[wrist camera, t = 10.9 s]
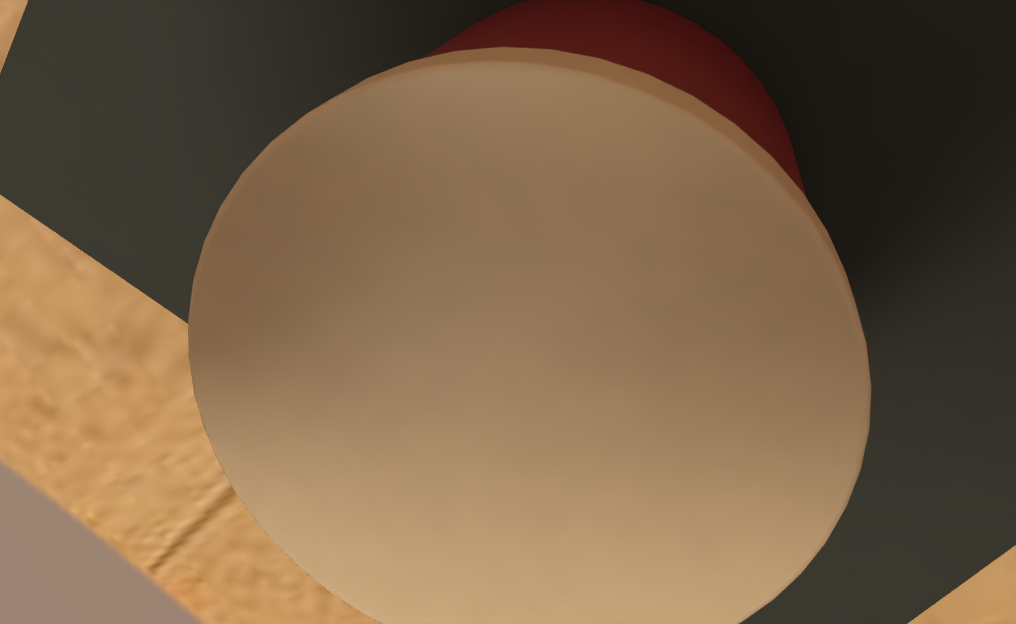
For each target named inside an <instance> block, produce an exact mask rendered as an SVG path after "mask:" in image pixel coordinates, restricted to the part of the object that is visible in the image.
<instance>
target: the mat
mask: <svg viewBox="0 0 1016 624" xmlns="http://www.w3.org/2000/svg"><path fill="white" fill-rule="evenodd" d="M526 1H530V0H28V3H27V6H26V8H25V11H24V13H23V16H22V19H21V21H20V24H19V26H18V29H17V32H16V34H15V37H14V40H13V42H12V45H11V47H10V50H9V53H8V55H7V58H6V60H5V63H4V66H3V68H2V71H1V74H0V195H2V196H3V197H5V198H6V199H8V200H9V201H11V202H12V203H14V204H15V205H16V206H18V207H19V208H21V209H22V210H24V211H25V212H27V213H28V214H30V215H31V216H32V217H34V218H35V219H37V220H38V221H40V222H41V223H43V224H44V225H46V226H47V227H48V228H50V229H51V230H53V231H54V232H56V233H57V234H59V235H60V236H62V237H63V238H64V239H66V240H67V241H69V242H70V243H72V244H73V245H75V246H76V247H77V248H79V249H80V250H82V251H83V252H85V253H86V254H88V255H89V256H91V257H92V258H93V259H95V260H96V261H98V262H99V263H101V264H102V265H104V266H105V267H107V268H108V269H109V270H111V271H112V272H114V273H115V274H117V275H118V276H120V277H121V278H123V279H124V280H125V281H127V282H128V283H130V284H131V285H133V286H134V287H136V288H137V289H139V290H140V291H141V292H143V293H144V294H146V295H147V296H149V297H150V298H152V299H153V300H154V301H156V302H157V303H159V304H160V305H162V306H163V307H165V308H166V309H168V310H169V311H170V312H172V313H173V314H175V315H176V316H178V317H179V318H181V319H182V320H184V321H185V322H186V323H188V318H189V310H190V302H191V294H192V287H193V280H194V276H195V273H196V269H197V266H198V262H199V259H200V255H201V252H202V248H203V245H204V241H205V239H206V237H207V235H208V233H209V230H210V228H211V226H212V224H213V222H214V220H215V217H216V215H217V213H218V211H219V209H220V206H221V205H222V203H223V202H224V200H225V199H226V197H227V196H228V194H229V193H230V191H231V190H232V188H233V187H234V185H235V184H236V182H237V181H238V179H239V178H240V176H241V175H242V173H243V172H244V171H245V170H246V169H247V168H248V166H249V165H250V164H251V163H252V162H253V161H254V160H255V159H256V158H257V157H258V156H259V155H260V153H261V152H262V151H263V150H264V149H265V148H266V147H267V146H268V145H269V144H270V143H271V142H272V141H273V140H274V139H275V138H277V137H278V136H279V135H280V134H282V133H283V132H284V131H285V130H287V129H288V128H289V127H290V126H292V125H293V124H294V123H295V122H297V121H298V120H299V119H300V118H302V117H303V116H304V115H306V114H307V113H309V112H310V111H312V110H314V109H315V108H317V107H319V106H320V105H322V104H324V103H325V102H327V101H328V100H330V99H332V98H334V97H335V96H337V95H339V94H341V93H342V92H344V91H346V90H347V89H349V88H351V87H353V86H354V85H356V84H358V83H360V82H361V81H363V80H365V79H367V78H369V77H371V76H374V75H376V74H379V73H382V72H384V71H387V70H389V69H392V68H394V67H397V66H399V65H402V64H405V63H407V62H410V61H414V60H419V59H422V58H423V57H425V56H426V55H428V54H429V53H431V52H432V51H434V50H435V49H437V48H438V47H440V46H441V45H443V44H444V43H446V42H447V41H449V40H450V39H452V38H453V37H455V36H456V35H458V34H459V33H461V32H462V31H464V30H465V29H467V28H469V27H470V26H472V25H474V24H476V23H477V22H479V21H481V20H483V19H484V18H486V17H488V16H490V15H491V14H493V13H496V12H498V11H501V10H503V9H506V8H508V7H511V6H513V5H516V4H519V3H522V2H526ZM641 1H644V2H647V3H650V4H653V5H656V6H659V7H662V8H665V9H668V10H670V11H672V12H674V13H676V14H678V15H680V16H682V17H685V18H687V19H689V20H691V21H693V22H695V23H696V24H698V25H699V26H701V27H702V28H704V29H705V30H707V31H708V32H710V33H711V34H713V35H714V36H716V37H717V38H719V39H720V40H721V41H722V42H723V43H724V44H726V45H727V46H728V47H729V48H730V49H731V50H732V51H733V52H735V53H736V54H737V55H738V56H739V57H740V58H741V59H742V60H743V61H744V62H745V63H746V65H747V66H748V67H749V68H750V69H751V70H752V72H753V73H754V74H755V75H756V76H757V78H758V79H759V80H760V81H761V82H762V84H763V86H764V87H765V89H766V90H767V92H768V94H769V95H770V97H771V98H772V100H773V102H774V103H775V105H776V106H777V108H778V111H779V113H780V115H781V117H782V120H783V122H784V124H785V126H786V129H787V131H788V133H789V137H790V140H791V144H792V147H793V151H794V155H795V158H796V162H797V165H798V169H799V172H800V176H801V179H802V183H803V187H804V190H805V194H806V197H807V200H808V202H809V203H810V205H811V206H812V208H813V210H814V211H815V213H816V214H817V216H818V217H819V219H820V221H821V222H822V224H823V225H824V227H825V228H826V230H827V232H828V234H829V236H830V239H831V241H832V243H833V245H834V247H835V250H836V252H837V254H838V256H839V259H840V261H841V263H842V265H843V268H844V270H845V272H846V275H847V278H848V281H849V284H850V288H851V291H852V294H853V297H854V300H855V304H856V307H857V311H858V314H859V318H860V322H861V325H862V329H863V333H864V336H865V340H866V344H867V353H868V362H869V370H870V379H871V405H870V425H869V433H868V438H867V443H866V447H865V452H864V457H863V461H862V466H861V470H860V473H859V475H858V478H857V480H856V483H855V486H854V488H853V491H852V493H851V496H850V499H849V501H848V504H847V506H846V508H845V510H844V512H843V513H842V515H841V517H840V519H839V520H838V522H837V524H836V525H835V527H834V529H833V531H832V532H831V534H830V536H829V538H828V539H827V541H826V543H825V544H824V545H823V547H822V548H821V549H820V550H819V552H818V553H817V554H816V555H815V557H814V558H813V559H812V560H811V562H810V563H809V564H808V565H807V567H806V568H805V569H804V570H803V572H802V573H801V574H800V575H799V576H798V577H797V578H796V579H795V580H794V581H793V582H792V583H790V584H789V585H788V586H787V587H786V588H785V589H784V590H783V591H782V592H781V593H780V594H779V595H778V596H777V597H775V598H774V599H773V600H772V601H771V602H769V603H768V604H766V605H765V606H764V607H762V608H761V609H759V610H758V611H756V612H755V613H754V614H752V615H751V616H749V617H748V618H747V619H745V620H744V621H742V622H741V623H739V624H907V623H909V622H910V621H911V620H913V619H914V618H916V617H917V616H918V615H920V614H921V613H922V612H924V611H925V610H927V609H928V608H929V607H931V606H932V605H933V604H935V603H936V602H938V601H939V600H940V599H942V598H943V597H944V596H946V595H947V594H949V593H950V592H951V591H953V590H954V589H956V588H957V587H958V586H960V585H961V584H962V583H964V582H965V581H967V580H968V579H969V578H971V577H972V576H973V575H975V574H976V573H978V572H979V571H980V570H982V569H983V568H984V567H986V566H987V565H989V564H990V563H991V562H993V561H994V560H995V559H997V558H998V557H1000V556H1001V555H1002V554H1004V553H1005V552H1006V551H1008V550H1009V549H1011V548H1012V547H1013V546H1015V545H1016V0H641Z"/></svg>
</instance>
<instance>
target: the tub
mask: <svg viewBox="0 0 1016 624" xmlns="http://www.w3.org/2000/svg"><path fill="white" fill-rule="evenodd" d="M188 336H189V361H190V368H191V374H192V381H193V388H194V394H195V397H196V401H197V404H198V408H199V411H200V415H201V418H202V422H203V425H204V428H205V431H206V433H207V436H208V438H209V440H210V443H211V445H212V447H213V450H214V452H215V454H216V457H217V459H218V462H219V464H220V466H221V467H222V469H223V471H224V472H225V474H226V476H227V478H228V479H229V481H230V483H231V485H232V486H233V488H234V490H235V492H236V493H237V495H238V497H239V498H240V499H241V501H242V502H243V504H244V505H245V506H246V508H247V509H248V510H249V512H250V513H251V515H252V516H253V517H254V519H255V520H256V521H257V523H258V524H259V525H260V527H261V528H262V529H263V530H264V531H265V532H266V533H267V534H268V536H269V537H270V538H271V539H272V540H273V541H274V542H275V543H276V544H277V545H278V547H279V548H280V549H281V550H282V551H283V552H284V553H285V554H286V555H287V556H288V557H289V558H290V559H291V560H292V561H294V562H295V563H296V564H297V565H298V566H299V567H300V568H301V569H302V570H304V571H305V572H306V573H307V574H308V575H309V576H310V577H311V578H312V579H314V580H315V581H316V582H318V583H319V584H320V585H322V586H323V587H324V588H326V589H327V590H328V591H330V592H331V593H333V594H334V595H335V596H337V597H338V598H339V599H341V600H342V601H343V602H345V603H347V604H348V605H350V606H352V607H353V608H355V609H357V610H358V611H360V612H362V613H363V614H365V615H367V616H368V617H370V618H372V619H373V620H375V621H377V622H379V623H381V624H739V623H741V622H742V621H744V620H745V619H747V618H748V617H749V616H751V615H752V614H754V613H755V612H756V611H758V610H759V609H761V608H762V607H764V606H765V605H766V604H768V603H769V602H771V601H772V600H773V599H774V598H775V597H777V596H778V595H779V594H780V593H781V592H782V591H783V590H784V589H785V588H786V587H787V586H788V585H789V584H790V583H792V582H793V581H794V580H795V579H796V578H797V577H798V576H799V575H800V574H801V573H802V572H803V570H804V569H805V568H806V567H807V565H808V564H809V563H810V562H811V560H812V559H813V558H814V557H815V555H816V554H817V553H818V552H819V550H820V549H821V548H822V547H823V545H824V544H825V543H826V541H827V539H828V538H829V536H830V534H831V532H832V531H833V529H834V527H835V525H836V524H837V522H838V520H839V519H840V517H841V515H842V513H843V512H844V510H845V508H846V506H847V504H848V501H849V499H850V496H851V493H852V491H853V488H854V486H855V483H856V480H857V478H858V475H859V473H860V470H861V466H862V461H863V457H864V452H865V447H866V443H867V438H868V433H869V425H870V405H871V379H870V370H869V362H868V353H867V344H866V340H865V336H864V333H863V329H862V325H861V322H860V318H859V314H858V311H857V307H856V304H855V300H854V297H853V294H852V291H851V288H850V284H849V281H848V278H847V275H846V272H845V270H844V268H843V265H842V263H841V261H840V259H839V256H838V254H837V252H836V250H835V247H834V245H833V243H832V241H831V239H830V236H829V234H828V232H827V230H826V228H825V227H824V225H823V224H822V222H821V221H820V219H819V217H818V216H817V214H816V213H815V211H814V210H813V208H812V206H811V205H810V203H809V202H808V200H807V197H806V194H805V190H804V187H803V183H802V179H801V176H800V172H799V169H798V165H797V162H796V158H795V155H794V151H793V147H792V144H791V140H790V137H789V133H788V131H787V129H786V126H785V124H784V122H783V120H782V117H781V115H780V113H779V111H778V108H777V106H776V105H775V103H774V102H773V100H772V98H771V97H770V95H769V94H768V92H767V90H766V89H765V87H764V86H763V84H762V82H761V81H760V80H759V79H758V78H757V76H756V75H755V74H754V73H753V72H752V70H751V69H750V68H749V67H748V66H747V65H746V63H745V62H744V61H743V60H742V59H741V58H740V57H739V56H738V55H737V54H736V53H735V52H733V51H732V50H731V49H730V48H729V47H728V46H727V45H726V44H724V43H723V42H722V41H721V40H720V39H719V38H717V37H716V36H714V35H713V34H711V33H710V32H708V31H707V30H705V29H704V28H702V27H701V26H699V25H698V24H696V23H695V22H693V21H691V20H689V19H687V18H685V17H682V16H680V15H678V14H676V13H674V12H672V11H670V10H668V9H665V8H662V7H659V6H656V5H653V4H650V3H647V2H644V1H641V0H530V1H526V2H522V3H519V4H516V5H513V6H511V7H508V8H506V9H503V10H501V11H498V12H496V13H493V14H491V15H490V16H488V17H486V18H484V19H483V20H481V21H479V22H477V23H476V24H474V25H472V26H470V27H469V28H467V29H465V30H464V31H462V32H461V33H459V34H458V35H456V36H455V37H453V38H452V39H450V40H449V41H447V42H446V43H444V44H443V45H441V46H440V47H438V48H437V49H435V50H434V51H432V52H431V53H429V54H428V55H426V56H425V57H423V58H422V59H419V60H414V61H410V62H407V63H405V64H402V65H399V66H397V67H394V68H392V69H389V70H387V71H384V72H382V73H379V74H376V75H374V76H371V77H369V78H367V79H365V80H363V81H361V82H360V83H358V84H356V85H354V86H353V87H351V88H349V89H347V90H346V91H344V92H342V93H341V94H339V95H337V96H335V97H334V98H332V99H330V100H328V101H327V102H325V103H324V104H322V105H320V106H319V107H317V108H315V109H314V110H312V111H310V112H309V113H307V114H306V115H304V116H303V117H302V118H300V119H299V120H298V121H297V122H295V123H294V124H293V125H292V126H290V127H289V128H288V129H287V130H285V131H284V132H283V133H282V134H280V135H279V136H278V137H277V138H275V139H274V140H273V141H272V142H271V143H270V144H269V145H268V146H267V147H266V148H265V149H264V150H263V151H262V152H261V153H260V155H259V156H258V157H257V158H256V159H255V160H254V161H253V162H252V163H251V164H250V165H249V166H248V168H247V169H246V170H245V171H244V172H243V173H242V175H241V176H240V178H239V179H238V181H237V182H236V184H235V185H234V187H233V188H232V190H231V191H230V193H229V194H228V196H227V197H226V199H225V200H224V202H223V203H222V205H221V206H220V209H219V211H218V213H217V215H216V217H215V220H214V222H213V224H212V226H211V228H210V230H209V233H208V235H207V237H206V239H205V241H204V245H203V248H202V252H201V255H200V259H199V262H198V266H197V269H196V273H195V276H194V280H193V287H192V294H191V302H190V310H189V318H188Z"/></svg>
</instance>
